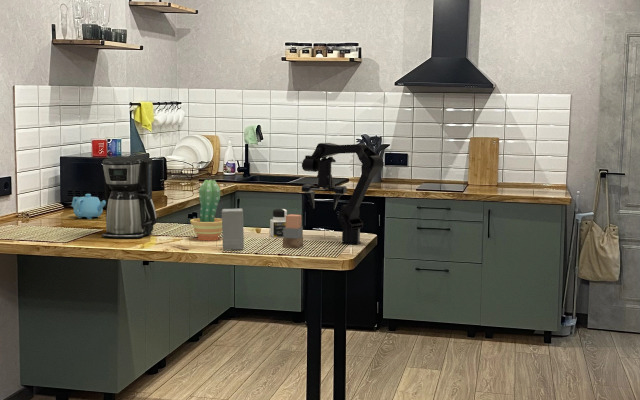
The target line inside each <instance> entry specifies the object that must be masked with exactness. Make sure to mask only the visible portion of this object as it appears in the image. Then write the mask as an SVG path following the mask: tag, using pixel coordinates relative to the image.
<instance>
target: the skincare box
mask: <svg viewBox="0 0 640 400" xmlns="http://www.w3.org/2000/svg"><path fill="white" fill-rule="evenodd" d="M221 219H222V232H221V233H222V238H221V239H222V250H223V251H224V250H225V251H227V250H229V251H231V250H232V251H233V250H244V247H245V234H244V233H245V232H244V209H243V207H242V208H222V210H221Z"/></svg>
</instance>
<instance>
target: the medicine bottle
mask: <svg viewBox="0 0 640 400" xmlns="http://www.w3.org/2000/svg"><path fill="white" fill-rule="evenodd" d="M286 215H288V210H287V209H285V208H275V209H273V210H272V219H270V220H269V222H270V223H269V224H270V225H269V236H270V237H272V238H273V239H274V238H275V239H278V238H280V239H283V238H284V228H285V227H286Z"/></svg>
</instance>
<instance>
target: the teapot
mask: <svg viewBox="0 0 640 400" xmlns="http://www.w3.org/2000/svg"><path fill="white" fill-rule="evenodd" d="M100 200H101V199H99V197H98V196H92V194H91V193H86V194H85V193H84V196H73V197H72V201H71V207H72V208H73V214H74V215H75V217H77V219H78V218H81V219H83V217H84V218H86V220H92V219H93V218H94V217H99V216H101V215H102V214H103V212H104V211H103V210H104V209H103V208H104V207H106V199H103V200H102V201H100Z"/></svg>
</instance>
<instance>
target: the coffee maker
mask: <svg viewBox="0 0 640 400" xmlns="http://www.w3.org/2000/svg"><path fill="white" fill-rule="evenodd" d="M101 162H102V171H103V179H104V193H105V194H104V196H105V201H106V204H105V224H106V225H105V227H106V228H105V229H106V230H105V231H106V232H104V233H102V234H101V236H102V237H103V238H110V239H140V238H143V237H146V236H150V235H151V233H152V231H154V225H156V224H157V220H158V219H157V212H156V207H155V204H154V201H153V158H152V157H147V156H144V155H143V156H141V155H137V156H136V155H135V156H134V155H131V156H130V155H120V156H119V155H117V156H111V157H108V158H106V159H105V158H104V159H103V160H102V161H101Z"/></svg>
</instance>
